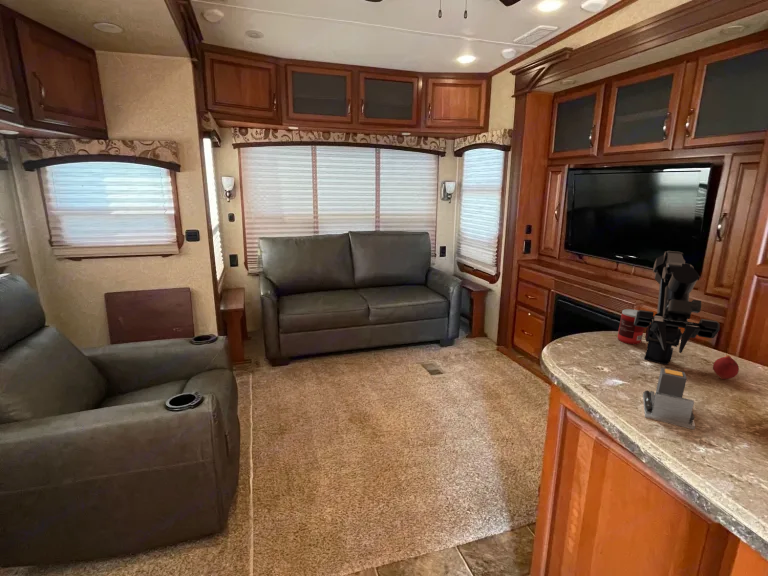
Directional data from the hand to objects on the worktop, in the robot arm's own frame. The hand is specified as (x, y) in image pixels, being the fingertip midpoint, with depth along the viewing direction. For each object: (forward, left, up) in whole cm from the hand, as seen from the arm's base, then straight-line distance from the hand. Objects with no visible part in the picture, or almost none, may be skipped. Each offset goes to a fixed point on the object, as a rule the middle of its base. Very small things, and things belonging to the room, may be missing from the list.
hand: (672, 351), depth 107 cm
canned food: (-14, +36, -13) cm, 41 cm away
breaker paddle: (+1, -9, -11) cm, 14 cm away
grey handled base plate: (+2, -10, -13) cm, 16 cm away
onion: (+13, +21, -13) cm, 28 cm away
